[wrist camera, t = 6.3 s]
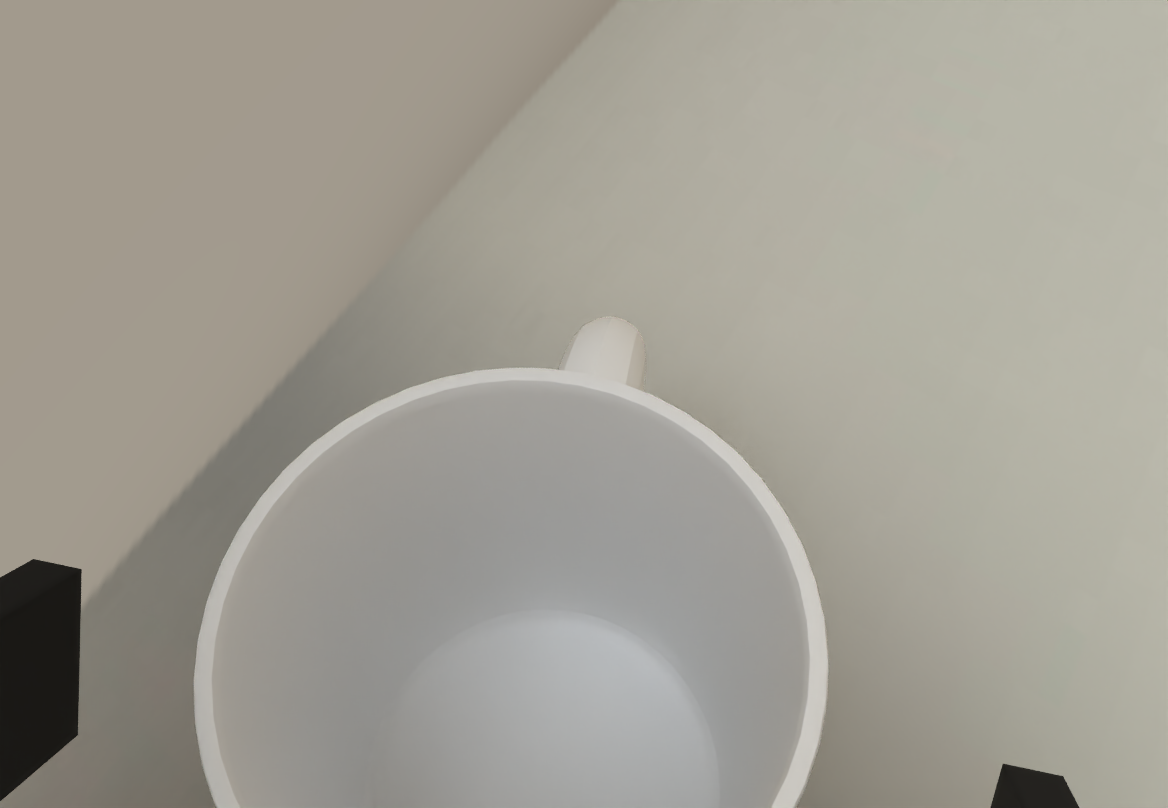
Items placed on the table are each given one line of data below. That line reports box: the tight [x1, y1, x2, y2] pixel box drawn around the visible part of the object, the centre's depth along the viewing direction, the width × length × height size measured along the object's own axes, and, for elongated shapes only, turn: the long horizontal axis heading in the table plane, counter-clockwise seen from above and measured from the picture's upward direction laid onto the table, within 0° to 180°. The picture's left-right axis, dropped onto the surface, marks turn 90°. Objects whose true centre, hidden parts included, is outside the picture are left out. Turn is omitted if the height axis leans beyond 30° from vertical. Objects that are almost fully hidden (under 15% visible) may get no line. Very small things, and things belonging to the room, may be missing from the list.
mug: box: [193, 316, 829, 808], centre depth 19 cm, size 12×8×10 cm
